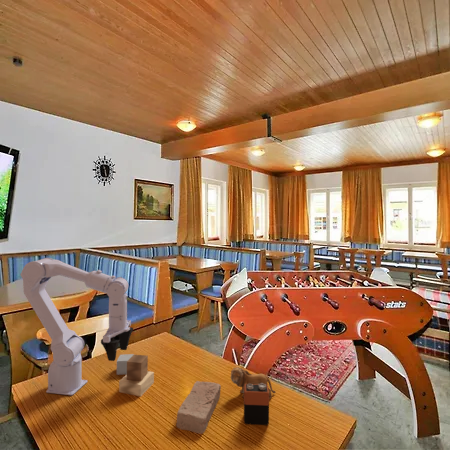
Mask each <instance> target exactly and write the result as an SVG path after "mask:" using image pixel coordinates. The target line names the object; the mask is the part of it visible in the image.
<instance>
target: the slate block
mask: <svg viewBox="0 0 450 450" xmlns="http://www.w3.org/2000/svg"><path fill="white" fill-rule="evenodd" d="M133 355H135V354H134V353H130V354H129V353H128V354H126V353H124V354H119V356H118V357H117V360H116V375H117V376H118V375H119V376H120V375H121V376H122V375H127V361H128V360H129V359H130V358H131V357H132V356H133Z"/></svg>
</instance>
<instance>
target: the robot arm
mask: <svg viewBox="0 0 450 450" xmlns="http://www.w3.org/2000/svg"><path fill="white" fill-rule="evenodd" d="M57 276H62V277H65V278H69V279H72V280H76V281H80V282H83V283H84V285H85V286H86V287H87V288H89V289H90V290H91V289H92V290H95V291H98V292H100V293H104V294H106V295H107V296H108V328H107V330H106V332H105V334H104V335H103V336H102V339H101V340H100V344H101V345H102V347H103V348H104V350H105V353H106V357H107V360H108V361H109V362H115V361H116V358H117V350H118V345H119V349H120V350H121V351H127V349H128V346H129V341H130V338H131V335H132V333H133V331H134V327H131V325H132V320H129V319H128V300H127V298H128V296H127V291H128V289H129V283H128V281H127V279H126V278H123V277H122V276H119V277H118V276H117V277H116V275H109V274H106V273H103V270H101V269H97V270H92V271H90V272H89V271H87V270H83V269H81V268H78V267H76V266H72V265H70V264H68V263H66V262H63V261H61V260H59V259H54V258H51V257H43V258H42V259H37V260H34V261H29V262H27V263H26V264H25V265H24V266H23V269H21V273H20V277H21V278H22V284H23V285H22V287H23V288H22V289H23V294H24V296H25V298H26V300H27V301H28V303H29V305H30V306H31V307H32V309H33V311H34V312H35V315H36V316H37V317H38V319H39V320H40V322H41V325H42V326H43V328H44V329H45V331H46V333H47V334H48V336H49V338H50V339H51V343H50V350H51V352H52V353H51V354H52V359H53V360H52V362H51V363H50V365H49V367H48V371H47V390H46V393H47V394H58V395H65V396H67V395H68V396H73V395H74V394H76V392H78V391H79V390H80V389H81V388H83V386H84V385H86V384H87V383H88V379H82V377H83V376H82V373H83V371H82V368H83V367H82V361H83V360H82V355H81V352H82V351H83V349H84V347H85V340H84V339H83V338H82V337H81V336H79V334H77V333H76V331H75V330H72V329H70V328H69V327H68V325H67V324H66V322H65V320H64V319H63V317H62V316H61V314H60V312H59V310H58V308H57V306H56V305H55V303H54V302H53V300H52V298H51V297H50V295H49V293H48V292H47V290H46V288H47V285H48V283H49V281H50V280H51V278H52V277H57ZM116 336H117V337H118V339H116V338H115V337H116Z"/></svg>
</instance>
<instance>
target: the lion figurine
mask: <svg viewBox="0 0 450 450" xmlns="http://www.w3.org/2000/svg"><path fill="white" fill-rule="evenodd" d="M230 380H231V382H232V383H233V384H235V385H236V386H237V387H239V388H241V389H240V390H239V392H240V393H241V394H242V393H243V394H242V395H241V397H242V398H243V399H244V385H245V384H260V383H263V384H266V385H268V390H269V400H270V399H272V394H276V391H275V390H273V388H272V382H271V380H270V378H269V377H268V376H267V375H266V374H264V373H256V374H255V373H253V374H251V373H250V372H249V371H248V370H245V369H243V368H241V367H239V366H238V367H233V369H231V373H230Z"/></svg>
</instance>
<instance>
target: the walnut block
mask: <svg viewBox="0 0 450 450" xmlns="http://www.w3.org/2000/svg"><path fill="white" fill-rule="evenodd" d="M148 362H149V357H148V355H143V354H134V355H133V356H132V357H131V358H130V359H129V360H128V361H127V374H126V375H127V380H134V381H142V380H143V378H144V377H145V376H146V374H147V373H148V371H149V370H148V369H149V367H148V364H149V363H148Z"/></svg>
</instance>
